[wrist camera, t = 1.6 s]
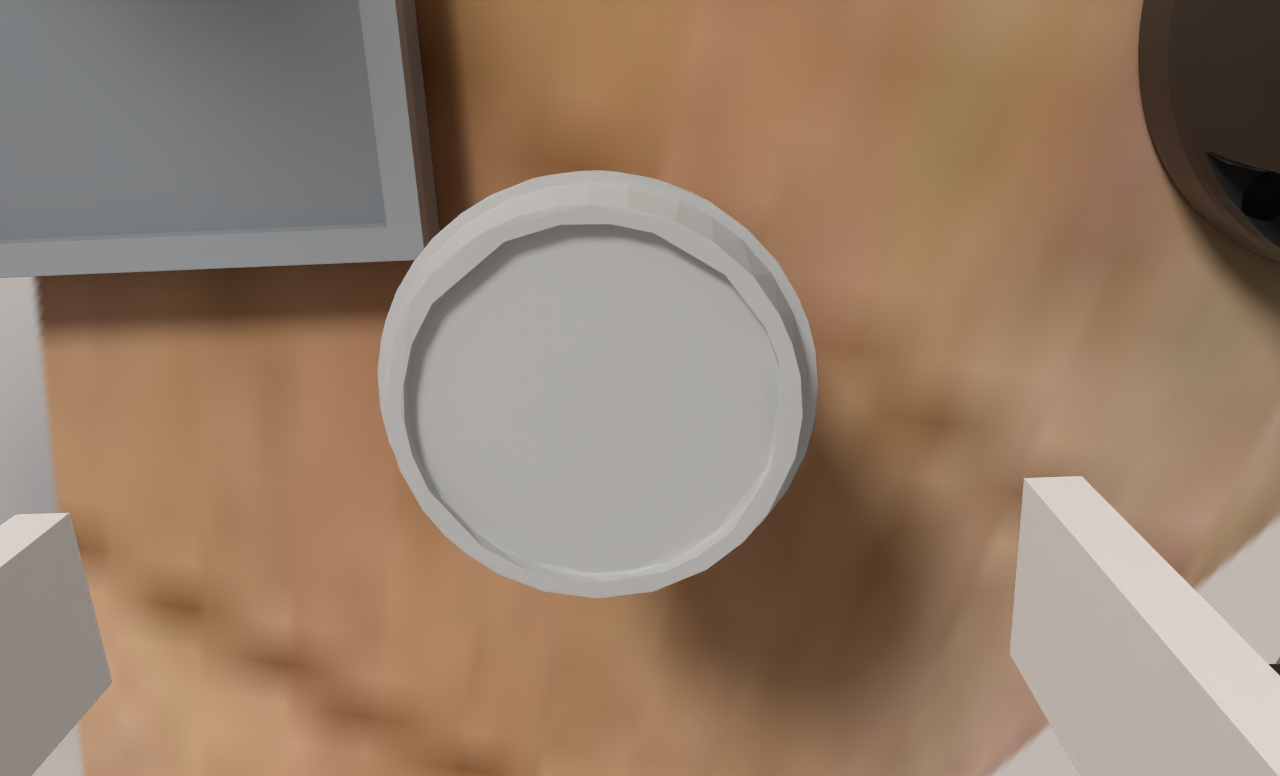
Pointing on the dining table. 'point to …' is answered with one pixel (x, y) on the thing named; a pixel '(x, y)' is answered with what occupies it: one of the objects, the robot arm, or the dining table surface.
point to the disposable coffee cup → (597, 383)
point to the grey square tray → (211, 135)
